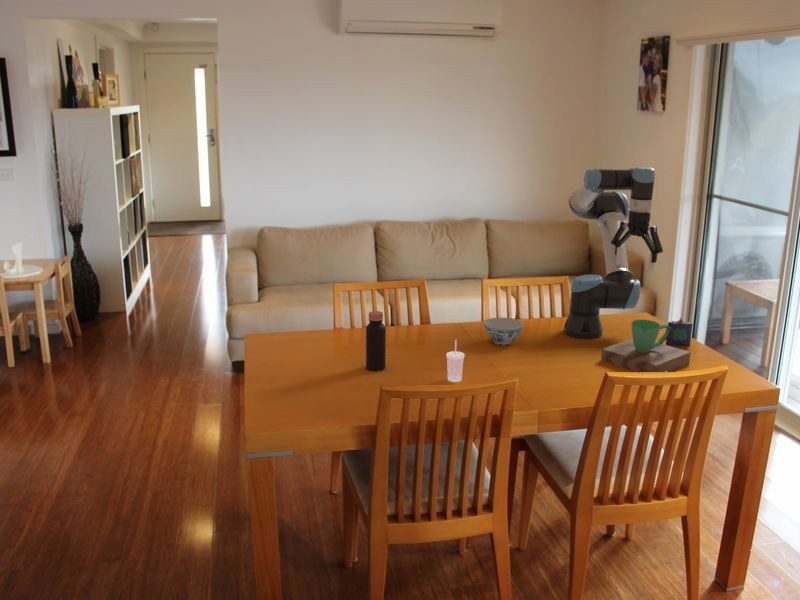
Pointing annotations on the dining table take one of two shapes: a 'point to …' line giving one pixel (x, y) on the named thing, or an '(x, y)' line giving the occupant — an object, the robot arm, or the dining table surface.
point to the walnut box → (645, 357)
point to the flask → (679, 333)
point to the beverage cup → (455, 365)
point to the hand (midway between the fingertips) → (634, 267)
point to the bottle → (375, 342)
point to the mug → (647, 334)
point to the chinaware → (503, 329)
